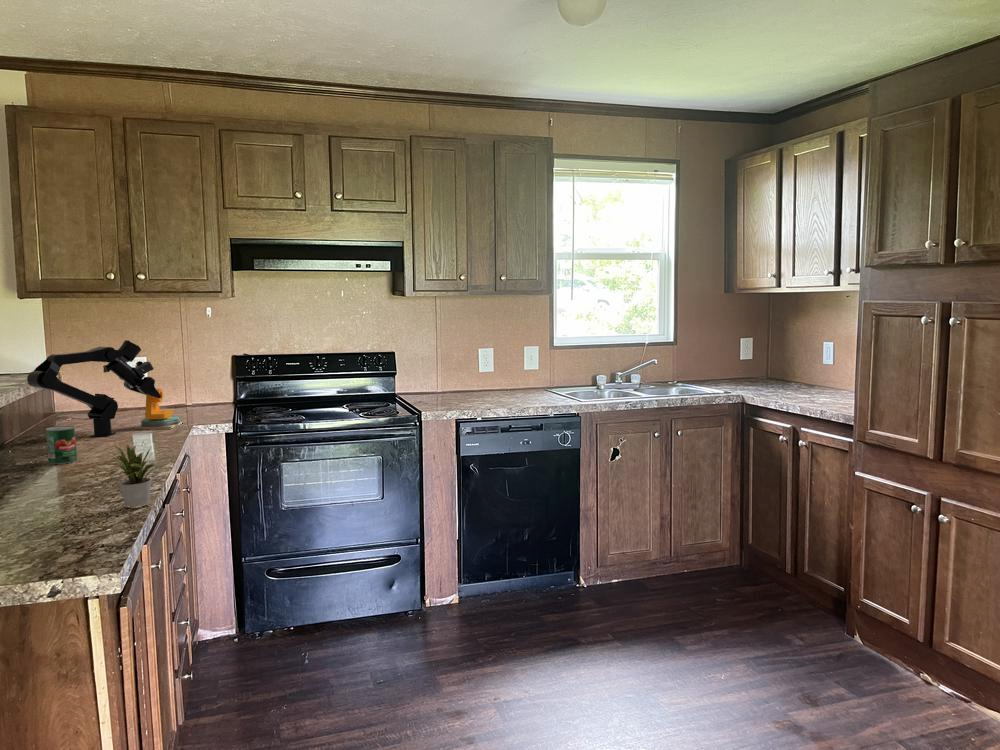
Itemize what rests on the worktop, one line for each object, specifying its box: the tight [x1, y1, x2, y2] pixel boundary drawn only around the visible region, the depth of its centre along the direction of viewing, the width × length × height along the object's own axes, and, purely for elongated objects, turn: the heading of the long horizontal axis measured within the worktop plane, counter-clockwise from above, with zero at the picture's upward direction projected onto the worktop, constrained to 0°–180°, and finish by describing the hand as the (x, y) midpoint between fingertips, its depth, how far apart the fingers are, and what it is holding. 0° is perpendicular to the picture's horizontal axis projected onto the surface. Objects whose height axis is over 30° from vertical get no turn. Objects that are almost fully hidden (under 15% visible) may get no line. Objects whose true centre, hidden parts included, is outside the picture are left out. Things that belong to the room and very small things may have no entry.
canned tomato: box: [45, 425, 78, 466], centre depth 236 cm, size 8×8×11 cm
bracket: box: [144, 388, 174, 420], centre depth 297 cm, size 11×7×12 cm, turn 7°
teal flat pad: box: [134, 415, 187, 430], centre depth 298 cm, size 14×14×3 cm
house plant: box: [102, 443, 163, 507], centre depth 184 cm, size 14×14×16 cm
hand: (155, 396), depth 296 cm, fingers open, 9 cm apart
